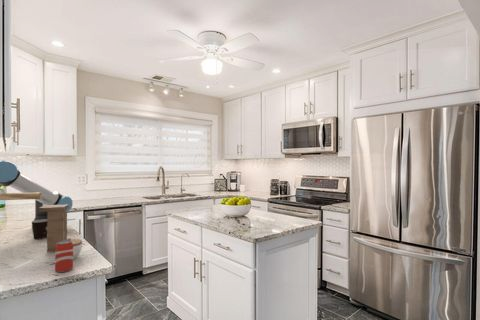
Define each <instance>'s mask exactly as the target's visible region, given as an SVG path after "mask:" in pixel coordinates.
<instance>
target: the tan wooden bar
mask: <svg viewBox="0 0 480 320" xmlns="http://www.w3.org/2000/svg"><path fill="white" fill-rule="evenodd" d="M41 194H42V192H37V193H22V192H7V193H2V194H1V195H0V201H20V200H21V201H23V200H26V201H27V200H35V199H40V198H41Z"/></svg>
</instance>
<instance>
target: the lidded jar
mask: <svg viewBox="0 0 480 320" xmlns="http://www.w3.org/2000/svg"><path fill="white" fill-rule="evenodd" d="M67 240H71V241H72V244H73V260H74V259H76V258H77V257H78V256H79V255H80V254H81V252H82V247H83V240H82V239H80V238H68V237H67ZM63 241H64V240H63ZM56 245H57V243H56Z"/></svg>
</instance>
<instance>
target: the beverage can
mask: <svg viewBox="0 0 480 320" xmlns="http://www.w3.org/2000/svg"><path fill="white" fill-rule="evenodd" d="M54 255H55V256H54V271H56V272H57V273H66V272H70V271H71V270H72V269H73V268H74V259H73V244H72V241H71V240H68V239H67V240H64V241H59V242H57V245H56V247H55V251H54Z"/></svg>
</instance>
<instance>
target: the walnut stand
mask: <svg viewBox="0 0 480 320" xmlns="http://www.w3.org/2000/svg"><path fill="white" fill-rule="evenodd" d="M68 208H69V204H66V205H44V206H42V207H40V208H39V212H48V217H47V237H46V242H47V243H46V252H48V253H49V252H50V253H51V252H55V247H56V243H57V242H59V241H63V240H68V212H67V209H68Z"/></svg>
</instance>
